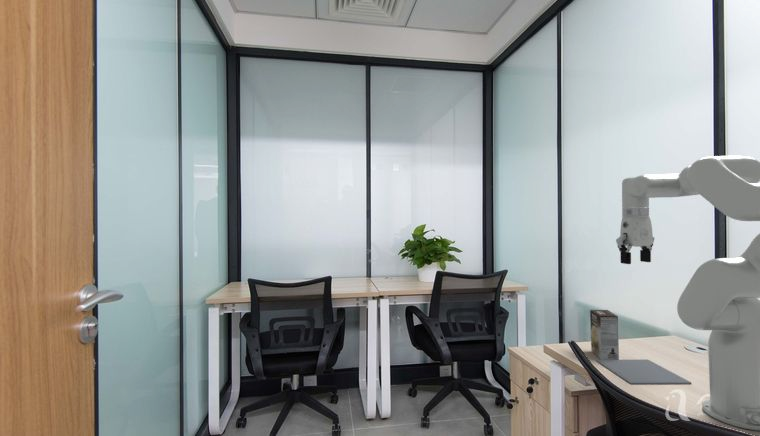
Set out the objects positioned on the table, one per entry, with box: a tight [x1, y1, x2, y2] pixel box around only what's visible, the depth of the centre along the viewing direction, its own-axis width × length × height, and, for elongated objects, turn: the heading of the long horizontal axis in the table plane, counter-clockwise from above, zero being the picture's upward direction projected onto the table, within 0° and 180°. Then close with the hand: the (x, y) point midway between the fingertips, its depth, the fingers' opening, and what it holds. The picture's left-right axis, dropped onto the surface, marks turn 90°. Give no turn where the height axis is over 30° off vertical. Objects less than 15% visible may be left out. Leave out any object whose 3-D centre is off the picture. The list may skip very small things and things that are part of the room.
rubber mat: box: [595, 359, 692, 385], centre depth 115 cm, size 18×18×1 cm
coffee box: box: [589, 309, 620, 360], centre depth 129 cm, size 9×6×16 cm
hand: (635, 262), depth 120 cm, fingers open, 9 cm apart
